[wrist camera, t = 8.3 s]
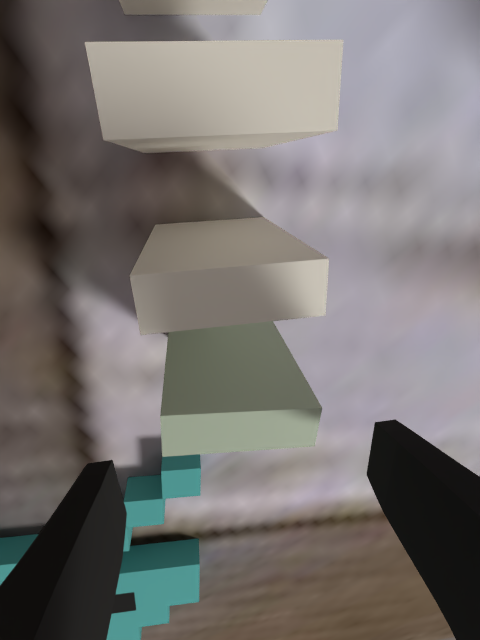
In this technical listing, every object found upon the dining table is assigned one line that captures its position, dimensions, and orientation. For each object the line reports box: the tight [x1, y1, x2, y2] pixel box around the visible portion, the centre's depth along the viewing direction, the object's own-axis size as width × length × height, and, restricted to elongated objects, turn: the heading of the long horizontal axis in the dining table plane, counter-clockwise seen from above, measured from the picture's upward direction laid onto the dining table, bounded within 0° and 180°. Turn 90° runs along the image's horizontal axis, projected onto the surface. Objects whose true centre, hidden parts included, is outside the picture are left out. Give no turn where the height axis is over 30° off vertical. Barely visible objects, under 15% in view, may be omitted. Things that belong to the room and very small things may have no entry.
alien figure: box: [0, 454, 201, 640], centre depth 23 cm, size 20×2×20 cm
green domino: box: [160, 321, 322, 457], centre depth 14 cm, size 2×5×8 cm, turn 87°
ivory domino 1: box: [85, 40, 343, 153], centre depth 10 cm, size 2×5×8 cm, turn 93°
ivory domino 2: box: [129, 217, 329, 335], centre depth 12 cm, size 2×5×8 cm, turn 93°
